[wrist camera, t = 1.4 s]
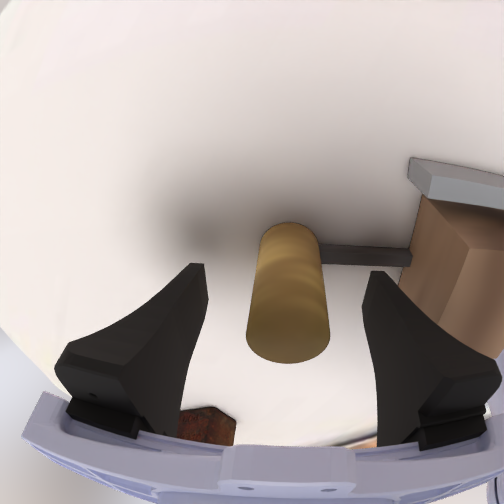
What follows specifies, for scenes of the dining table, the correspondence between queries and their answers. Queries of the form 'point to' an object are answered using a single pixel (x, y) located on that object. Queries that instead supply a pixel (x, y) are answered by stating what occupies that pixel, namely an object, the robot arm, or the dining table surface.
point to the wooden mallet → (411, 283)
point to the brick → (206, 426)
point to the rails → (457, 183)
